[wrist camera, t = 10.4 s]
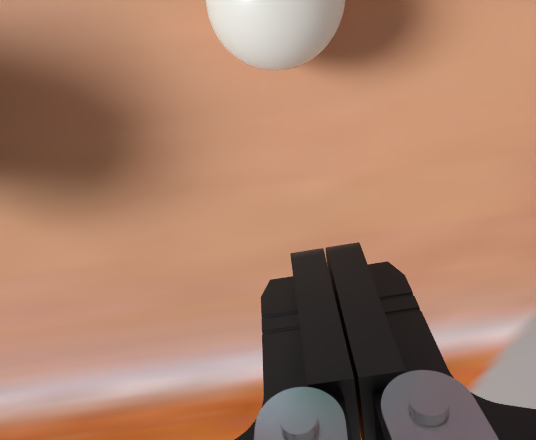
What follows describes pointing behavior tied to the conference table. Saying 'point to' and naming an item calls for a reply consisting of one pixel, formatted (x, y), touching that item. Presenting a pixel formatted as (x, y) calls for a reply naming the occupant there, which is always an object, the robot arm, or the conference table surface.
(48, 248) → the conference table surface
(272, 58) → the white cue ball
